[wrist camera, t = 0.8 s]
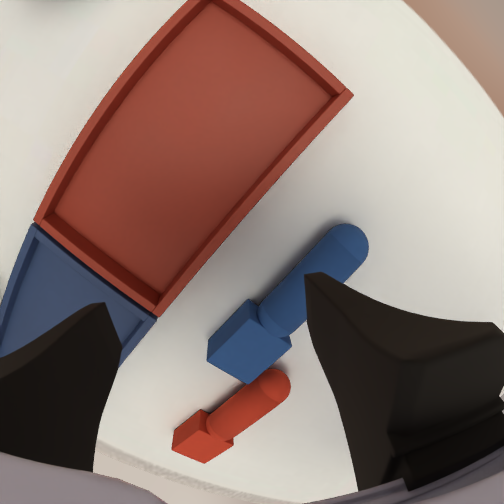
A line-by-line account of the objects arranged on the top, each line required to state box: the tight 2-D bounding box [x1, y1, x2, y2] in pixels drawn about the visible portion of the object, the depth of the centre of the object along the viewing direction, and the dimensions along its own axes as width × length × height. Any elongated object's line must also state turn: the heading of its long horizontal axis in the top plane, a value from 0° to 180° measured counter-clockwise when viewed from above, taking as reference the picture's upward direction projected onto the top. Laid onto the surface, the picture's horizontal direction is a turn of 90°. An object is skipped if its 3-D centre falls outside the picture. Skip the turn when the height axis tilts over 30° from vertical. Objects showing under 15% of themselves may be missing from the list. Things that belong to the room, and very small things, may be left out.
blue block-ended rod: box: [207, 224, 369, 384], centre depth 20 cm, size 13×4×3 cm, turn 139°
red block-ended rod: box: [171, 369, 291, 464], centre depth 24 cm, size 13×4×3 cm, turn 139°
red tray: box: [33, 0, 354, 317], centre depth 17 cm, size 10×17×2 cm, turn 139°
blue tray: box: [0, 222, 158, 368], centre depth 21 cm, size 10×17×2 cm, turn 139°
